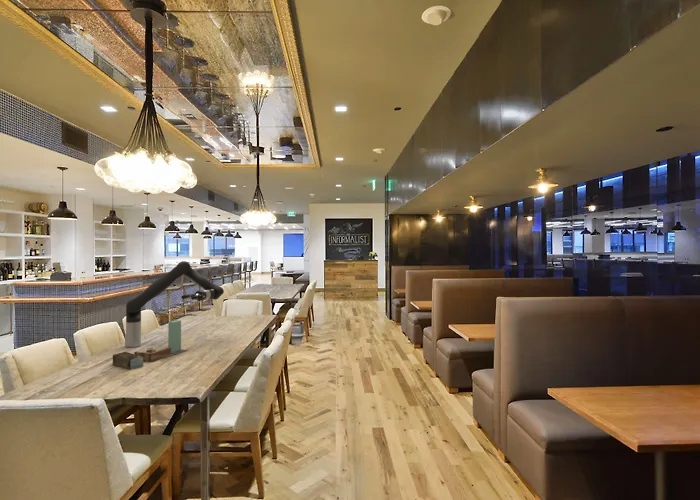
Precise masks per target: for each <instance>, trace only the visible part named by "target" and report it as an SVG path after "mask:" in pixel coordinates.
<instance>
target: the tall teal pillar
mask: <svg viewBox="0 0 700 500" xmlns="http://www.w3.org/2000/svg"><path fill="white" fill-rule="evenodd" d="M167 323H168V324H167V325H168V326H167V327H168V331H167V332H168V333H167V335H168V337H167V339H168V340H167V342H168V347H167V348H171V353H174V352H177V351H180V350H181V349H182V320H177V319H176V320H171V321H168V322H167Z"/></svg>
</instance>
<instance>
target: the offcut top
mask: <svg viewBox="0 0 700 500" xmlns="http://www.w3.org/2000/svg"><path fill="white" fill-rule="evenodd" d="M153 350H154V348H153V347H146V352H147V353H153Z"/></svg>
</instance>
